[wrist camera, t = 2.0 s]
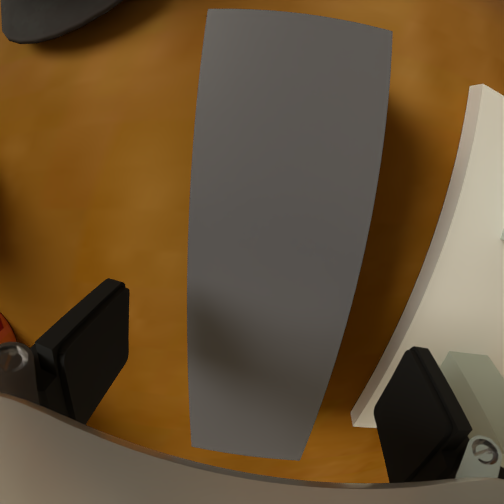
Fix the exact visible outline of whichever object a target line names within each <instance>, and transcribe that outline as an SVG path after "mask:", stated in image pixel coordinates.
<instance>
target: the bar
mask: <svg viewBox="0 0 504 504" xmlns="http://www.w3.org/2000/svg"><path fill="white" fill-rule="evenodd" d="M391 54H392V31H389V30H385V29H381V28H377V27H373V26H369V25H365V24H360V23H356V22H351V21H346V20H340V19H335V18H329V17H322V16H316V15H309V14H301V13H292V12H282V11H269V10H252V9H208V13H207V20H206V27H205V35H204V42H203V50H202V59H201V67H200V76H199V85H198V95H197V106H196V117H195V129H194V141H193V155H192V170H191V187H190V207H189V233H188V273H187V343H188V382H189V406H190V426H191V442H192V447H197V448H202V449H208V450H213V451H219V452H225V453H232V454H239V455H246V456H255V457H264V458H274V459H286V460H300V458H301V456H302V453H303V451H304V448H305V446H306V443H307V441H308V438H309V436H310V433H311V430H312V428H313V425H314V422H315V420H316V417H317V414H318V412H319V409H320V406H321V403H322V400H323V397H324V394H325V391H326V389H327V386H328V383H329V380H330V376H331V373H332V370H333V367H334V364H335V361H336V358H337V354H338V351H339V348H340V344H341V341H342V338H343V334H344V331H345V327H346V324H347V320H348V316H349V313H350V309H351V305H352V301H353V297H354V294H355V290H356V286H357V281H358V277H359V273H360V269H361V265H362V260H363V256H364V251H365V247H366V242H367V237H368V232H369V227H370V222H371V217H372V212H373V206H374V201H375V195H376V189H377V183H378V177H379V171H380V164H381V157H382V150H383V143H384V135H385V126H386V117H387V108H388V97H389V85H390V72H391Z"/></svg>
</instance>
